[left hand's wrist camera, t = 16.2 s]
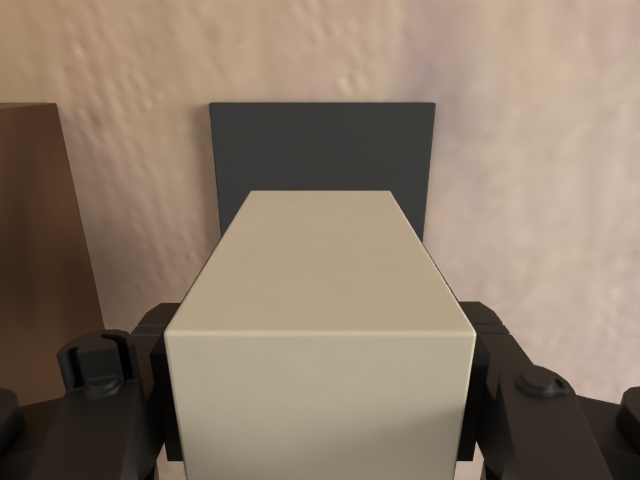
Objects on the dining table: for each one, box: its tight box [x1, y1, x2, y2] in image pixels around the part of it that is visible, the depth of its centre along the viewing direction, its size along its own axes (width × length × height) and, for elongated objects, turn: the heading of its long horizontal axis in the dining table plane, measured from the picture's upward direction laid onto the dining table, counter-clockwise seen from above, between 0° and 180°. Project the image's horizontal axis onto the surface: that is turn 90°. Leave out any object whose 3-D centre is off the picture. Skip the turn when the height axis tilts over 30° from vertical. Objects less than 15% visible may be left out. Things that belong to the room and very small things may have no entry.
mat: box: [209, 103, 436, 242], centre depth 21 cm, size 10×10×1 cm
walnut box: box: [0, 103, 105, 406], centre depth 20 cm, size 26×6×8 cm, turn 0°
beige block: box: [164, 191, 476, 480], centre depth 12 cm, size 5×5×9 cm
